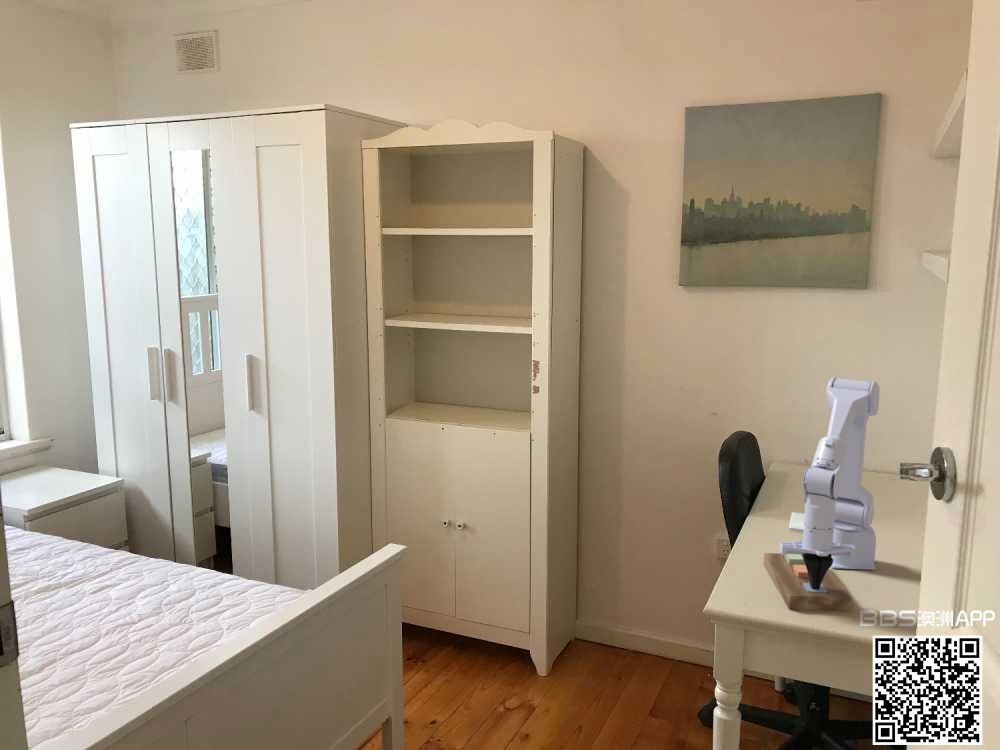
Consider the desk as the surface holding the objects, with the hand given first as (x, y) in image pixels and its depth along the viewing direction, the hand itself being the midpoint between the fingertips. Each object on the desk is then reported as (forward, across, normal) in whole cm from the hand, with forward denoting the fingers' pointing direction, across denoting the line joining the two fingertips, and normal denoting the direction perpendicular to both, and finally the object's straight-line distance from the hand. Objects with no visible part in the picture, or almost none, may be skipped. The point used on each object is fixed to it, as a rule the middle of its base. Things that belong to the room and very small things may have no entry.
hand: (814, 587), depth 168 cm
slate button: (+2, 0, 0) cm, 2 cm away
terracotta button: (+1, 0, +7) cm, 7 cm away
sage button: (+1, 0, +14) cm, 14 cm away
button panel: (+3, 0, +7) cm, 8 cm away
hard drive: (+4, +11, +45) cm, 47 cm away
